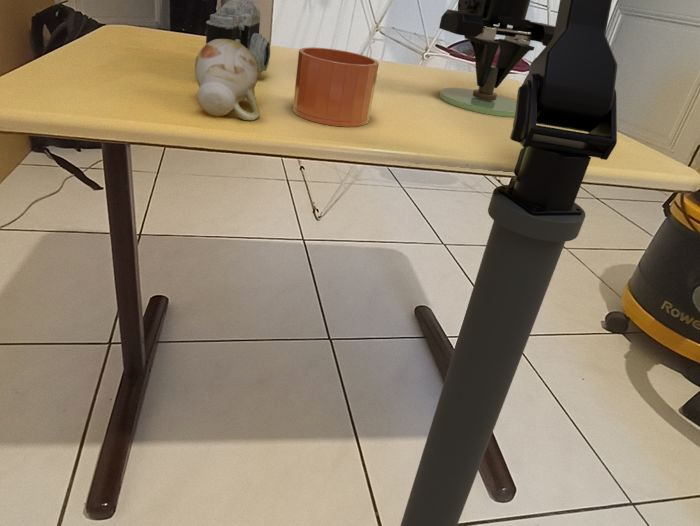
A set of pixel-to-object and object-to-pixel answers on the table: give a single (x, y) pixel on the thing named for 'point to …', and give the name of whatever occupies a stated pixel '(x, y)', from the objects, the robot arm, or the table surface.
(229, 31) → the camera
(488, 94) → the grey flanged cylinder
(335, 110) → the cup
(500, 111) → the plate
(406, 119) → the table surface
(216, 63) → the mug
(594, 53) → the robot arm
